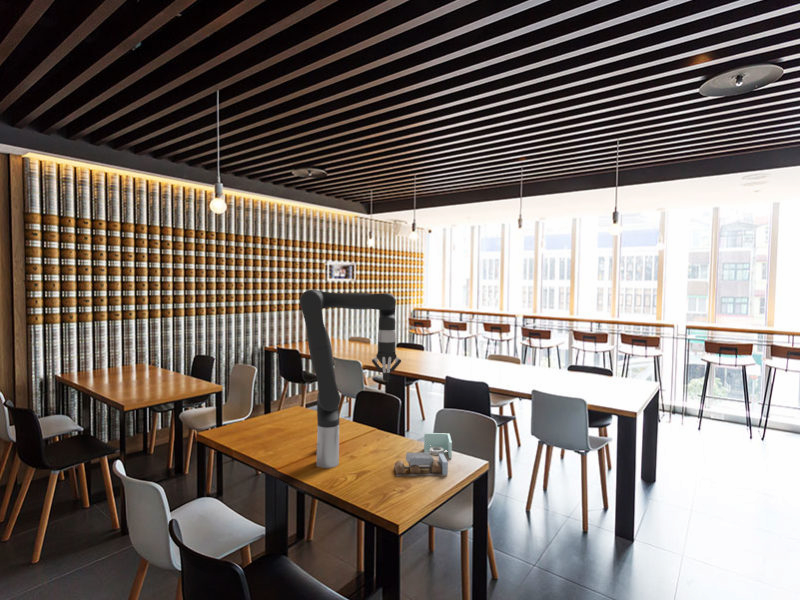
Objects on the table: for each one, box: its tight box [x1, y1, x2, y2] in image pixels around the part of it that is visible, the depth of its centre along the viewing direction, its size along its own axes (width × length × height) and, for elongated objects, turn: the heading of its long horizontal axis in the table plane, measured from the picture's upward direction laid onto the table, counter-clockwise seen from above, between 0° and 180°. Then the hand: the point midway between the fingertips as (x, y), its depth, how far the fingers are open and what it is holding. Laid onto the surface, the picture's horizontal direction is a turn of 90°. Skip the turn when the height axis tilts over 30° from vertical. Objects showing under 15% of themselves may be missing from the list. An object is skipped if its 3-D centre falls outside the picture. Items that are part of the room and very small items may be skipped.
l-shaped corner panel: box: [423, 432, 453, 458], centre depth 201 cm, size 12×12×8 cm
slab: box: [405, 451, 435, 466], centre depth 181 cm, size 10×6×3 cm, turn 105°
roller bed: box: [394, 459, 443, 477], centre depth 180 cm, size 19×8×4 cm, turn 96°
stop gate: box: [437, 453, 449, 476], centre depth 181 cm, size 2×9×6 cm, turn 6°
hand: (386, 381), depth 183 cm, fingers closed
